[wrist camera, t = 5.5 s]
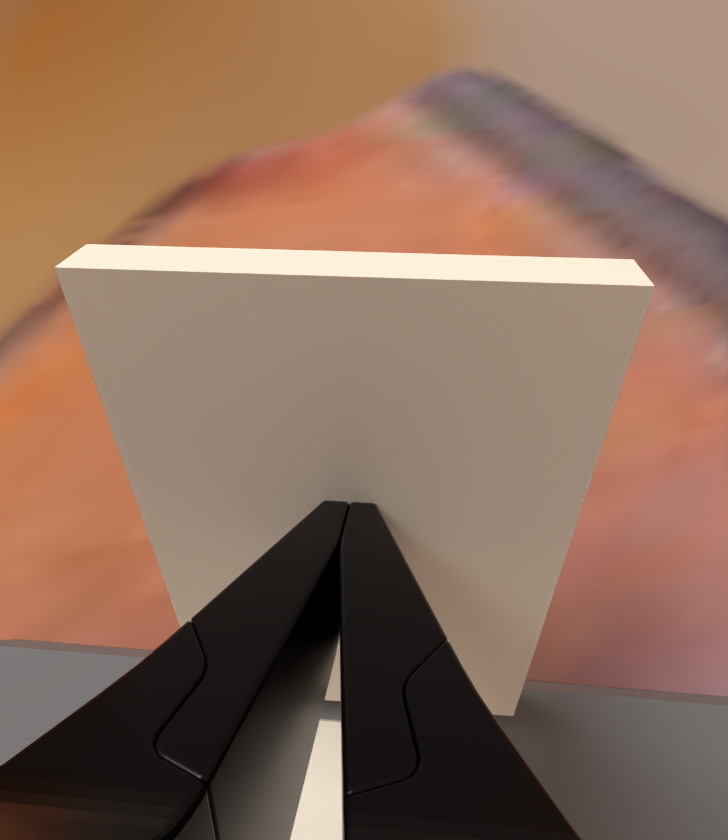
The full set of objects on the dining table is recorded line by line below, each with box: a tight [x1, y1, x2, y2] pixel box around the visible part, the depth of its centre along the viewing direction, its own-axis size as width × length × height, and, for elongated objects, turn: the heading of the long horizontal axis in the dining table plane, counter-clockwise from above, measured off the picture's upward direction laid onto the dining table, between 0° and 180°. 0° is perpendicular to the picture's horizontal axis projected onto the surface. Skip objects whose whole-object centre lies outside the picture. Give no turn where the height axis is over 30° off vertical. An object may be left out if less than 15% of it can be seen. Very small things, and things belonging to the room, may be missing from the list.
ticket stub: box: [55, 244, 655, 716], centre depth 10 cm, size 1×7×10 cm
